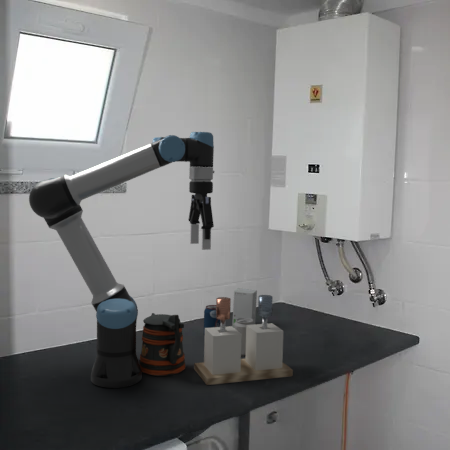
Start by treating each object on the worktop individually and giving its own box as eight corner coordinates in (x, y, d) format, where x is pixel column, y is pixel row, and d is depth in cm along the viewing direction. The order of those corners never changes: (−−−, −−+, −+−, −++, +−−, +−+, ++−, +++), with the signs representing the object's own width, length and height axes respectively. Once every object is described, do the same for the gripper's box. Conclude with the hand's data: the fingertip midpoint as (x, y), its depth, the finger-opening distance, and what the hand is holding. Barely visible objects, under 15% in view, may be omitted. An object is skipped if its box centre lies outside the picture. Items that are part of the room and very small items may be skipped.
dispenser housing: (212, 374, 178) (213, 336, 177) (204, 365, 187) (204, 328, 186) (282, 367, 186) (283, 330, 184) (270, 358, 194) (272, 323, 193)
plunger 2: (260, 357, 185) (261, 298, 183) (254, 353, 189) (256, 295, 187) (272, 356, 187) (274, 297, 185) (267, 352, 191) (269, 294, 189)
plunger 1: (217, 361, 181) (218, 300, 179) (213, 356, 185) (214, 297, 183) (231, 360, 182) (232, 299, 180) (226, 355, 186) (227, 296, 184)
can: (229, 354, 204) (230, 320, 203) (238, 348, 211) (239, 315, 209) (248, 358, 201) (249, 323, 199) (257, 352, 207) (258, 318, 206)
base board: (206, 385, 175) (207, 378, 175) (194, 369, 189) (194, 363, 188) (292, 376, 184) (292, 369, 184) (274, 361, 198) (274, 355, 197)
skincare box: (231, 329, 235) (232, 291, 233) (236, 325, 241) (237, 287, 239) (252, 331, 232) (253, 292, 230) (256, 327, 238) (257, 289, 237)
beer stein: (201, 375, 183) (203, 312, 181) (160, 385, 175) (161, 319, 173) (170, 358, 199) (171, 300, 196) (131, 366, 190) (131, 305, 188)
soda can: (220, 341, 219) (221, 309, 218) (202, 339, 220) (202, 308, 219) (223, 335, 226) (223, 305, 224) (205, 334, 227) (206, 303, 226)
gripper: (224, 182, 178) (223, 251, 181) (201, 179, 202) (200, 241, 204) (200, 182, 176) (199, 252, 178) (180, 179, 199) (179, 241, 202)
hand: (200, 246), depth 191 cm, fingers open, 13 cm apart
